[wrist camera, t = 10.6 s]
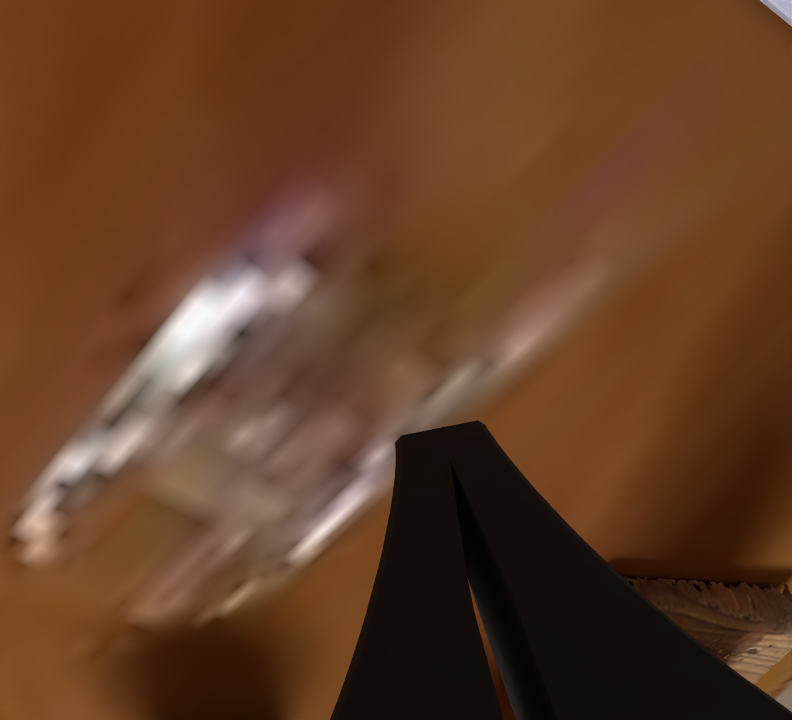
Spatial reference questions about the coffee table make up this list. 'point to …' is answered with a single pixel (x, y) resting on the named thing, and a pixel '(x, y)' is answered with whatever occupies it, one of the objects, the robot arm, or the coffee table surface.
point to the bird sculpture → (728, 619)
